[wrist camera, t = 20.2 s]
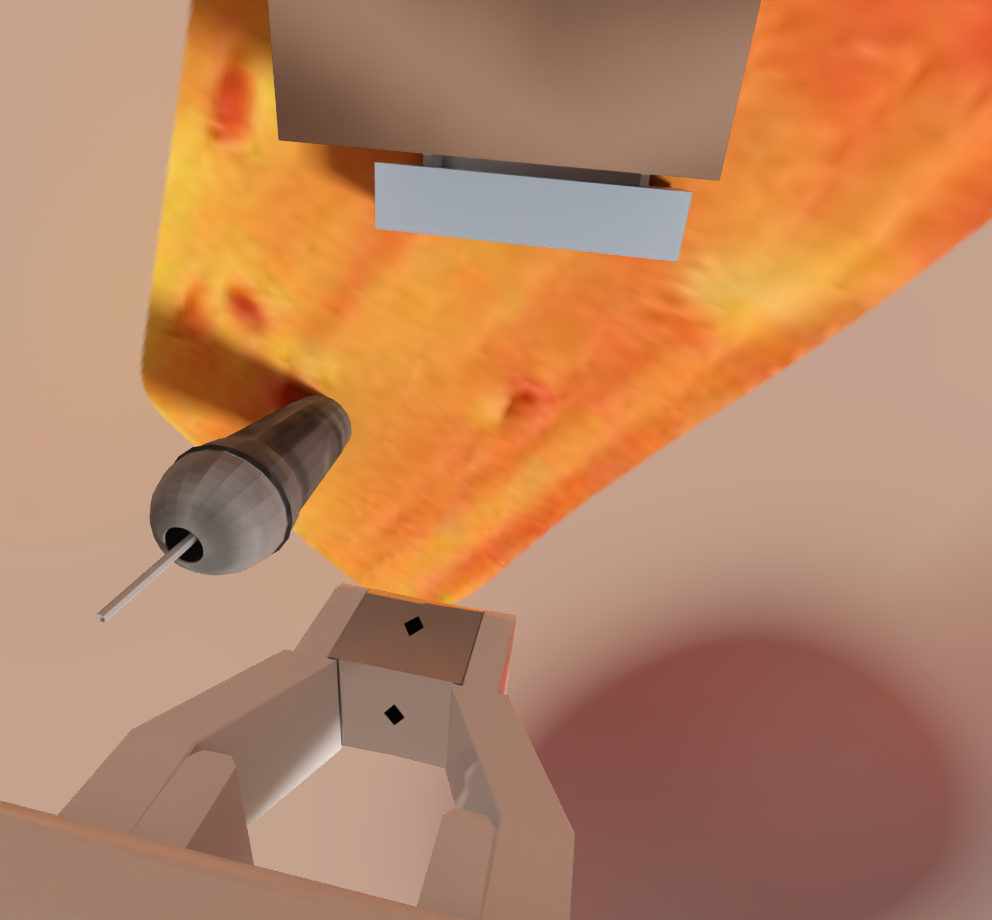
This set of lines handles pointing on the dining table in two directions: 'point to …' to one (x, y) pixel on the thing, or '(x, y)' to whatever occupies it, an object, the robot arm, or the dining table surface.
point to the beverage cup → (241, 492)
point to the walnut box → (517, 79)
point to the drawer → (532, 205)
